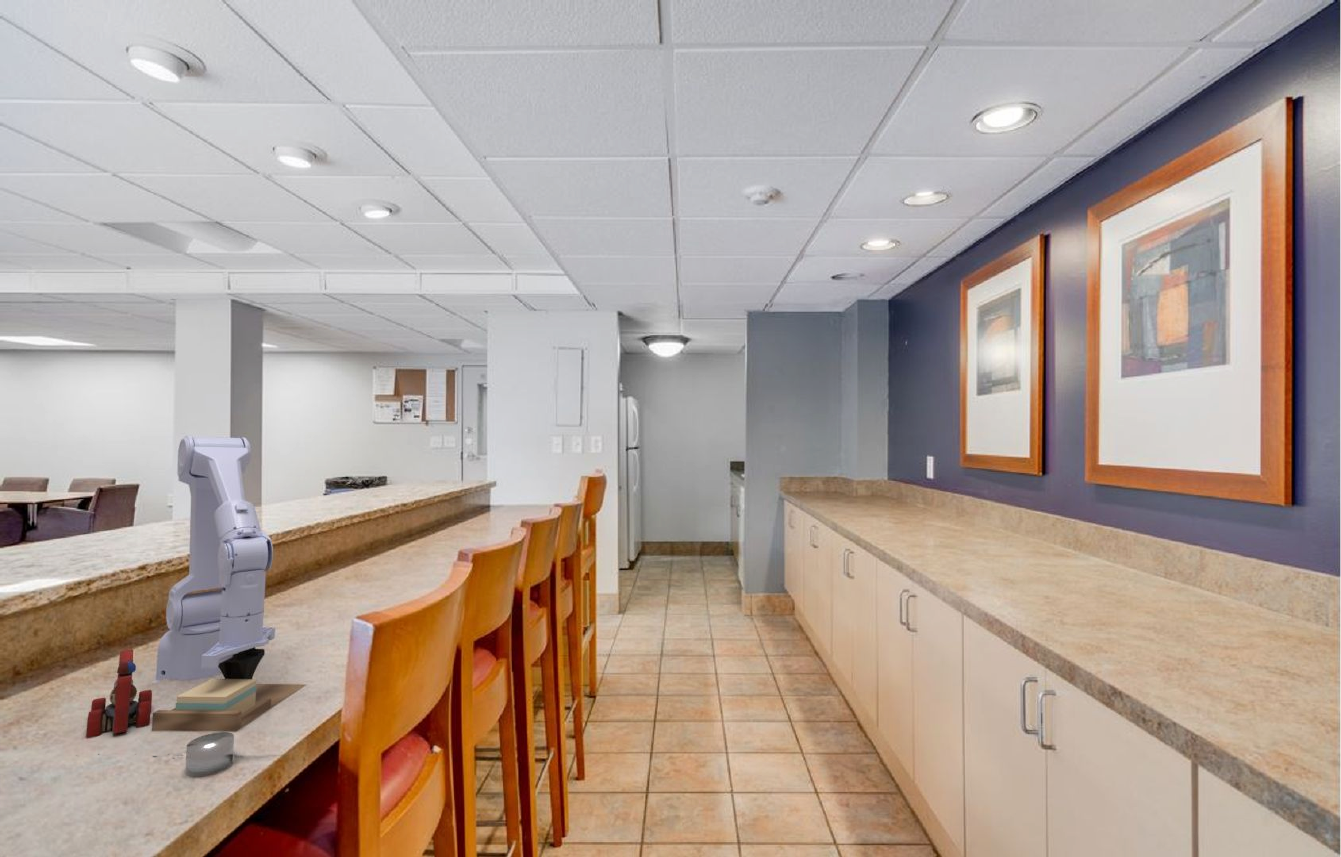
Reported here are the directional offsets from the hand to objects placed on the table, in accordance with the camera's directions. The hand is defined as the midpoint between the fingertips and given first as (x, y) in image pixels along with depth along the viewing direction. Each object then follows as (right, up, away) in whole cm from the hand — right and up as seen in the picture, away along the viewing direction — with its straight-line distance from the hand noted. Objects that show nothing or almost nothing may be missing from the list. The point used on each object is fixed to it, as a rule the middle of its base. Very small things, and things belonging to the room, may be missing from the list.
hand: (238, 698), depth 97 cm
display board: (0, -2, 0) cm, 2 cm away
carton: (0, -1, -5) cm, 5 cm away
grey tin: (+8, -2, -17) cm, 19 cm away
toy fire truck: (-13, -2, -7) cm, 15 cm away
